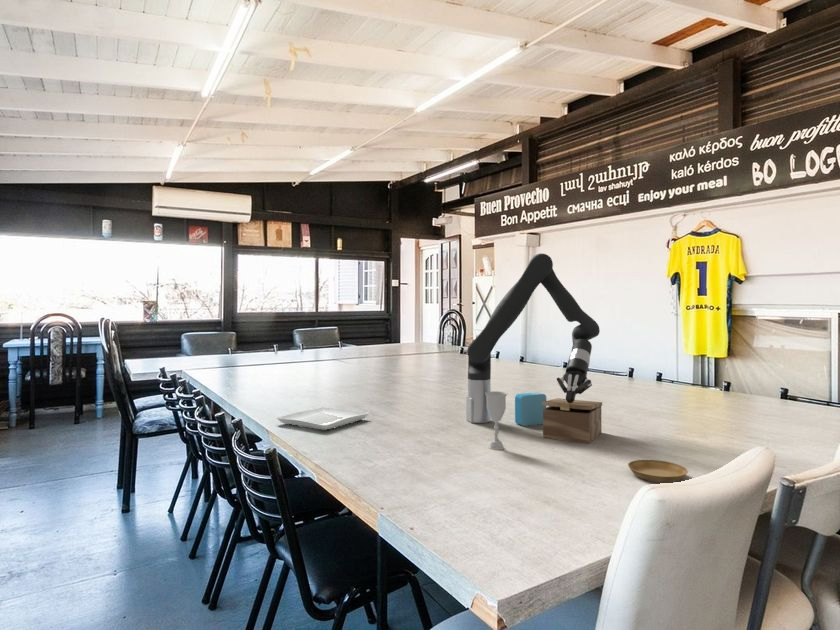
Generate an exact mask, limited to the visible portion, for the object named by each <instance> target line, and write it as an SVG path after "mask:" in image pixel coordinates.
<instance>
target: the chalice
mask: <svg viewBox="0 0 840 630" xmlns="http://www.w3.org/2000/svg"><path fill="white" fill-rule="evenodd" d="M485 394H486V396H487V410H488V413H489V415H490V417H491V421H493V422H494V426H493V428H494V431H493V434H494V438H493V439H492V440H491V441H490V443H489V446H488V449H490V450H494V451H495V450H497V451H498V450H499V451H500V450H503V449H505V446H504V444H503V442H502V440H500V439H499V430H498V429H499V428H500V427H499V422H500V421H501V420H502V418H503V416H504V414H505V412H506V399H507V398H506V397H507V395H508V393H507V392H505V391H491V392H485Z"/></svg>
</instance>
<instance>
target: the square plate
mask: <svg viewBox="0 0 840 630" xmlns="http://www.w3.org/2000/svg"><path fill="white" fill-rule="evenodd" d="M320 413H325V414H329V415H334V416H337V417H343V418H342V419H337V420H335V421H333V422H328V423H323V424H316V423H311V422H306V421H301V420H300V419H304V418H308V417H311V416H314V415H317V414H320ZM370 414H371V413H370V412H367V411H361V410H355V409H347V408H340V407H339V408H338V407H327V406H325V407H324V406H321V407H317V408H312V409H311V408H310V409H306V410H301V411H296V412H292V413H289V414H284V415H281V416H277V417H276V418H275V419H276V420H278V421H279V422H280V423H283V424H284V423H285V424H284V425H289V424H292V425H291V426H293V425H298V426H297V427H299V426H304V427H303V428H305V427H310V428H309V429H311V428H315V429H314V430H317V429H322V430H321V431H326V430H327V429H329V430H332V429H331V428H334V427H337V428H339V427H338V426H340V427H342V426H341V425H344V426H346V425H345V424H347V425H349V424H348V423H351V424H353V423H352V422H354V423H356V422H358V421H361V420H363V419H366V418H367V417H368V416H369V415H370ZM355 421H356V422H355ZM334 429H335V428H334ZM327 431H328V430H327Z"/></svg>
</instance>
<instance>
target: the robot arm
mask: <svg viewBox="0 0 840 630" xmlns="http://www.w3.org/2000/svg"><path fill="white" fill-rule="evenodd" d="M553 267H554V263H553V260H552V257H550V256H549V255H548V254H546V253H537V254H534V255H533V256H532V257H531V258H530V259H529V262H528V264H527V266H526V268H525V270H524V271H523V273H522V275H521V276H520V278H519V279H518V280H517V282H516V283H514V285H513V286H512V287H511V288H510V289H509V290H508V291H507V292H506V293H505V295H504V296H503V298H502V299H501V300H500V301H499V303H498V304H497V306H496V307H495V308H494V311H493V312H492V314H491V315H490V318H489V319H488V320H487V323H486V325H485V326H484V328H483V329H482V331H480V333H479V334H478V335H477V336H476V338H475V339H473V341H471V342H470V343H469V345H468V346H467V349H466V350H467V351H466V353H467V358H468V360H467V361H468V362H467V363H468V365H467V396H466V399H465V401H466V403H465V404H466V410H465V411H466V413H465V414H466V421H468V422H469V423H471V424H473V423H475V424H484V423H485V424H486V423H489V422H491V421H492V419H491V417H490V415H489V413H488V410H487V396H486V394H485V392H492V389H491V388H492V387H491V385H492V384H491V382H492V381H491V380H492V379H491V377H492V376H491V372H492V363H491V362H492V361H491V360H492V358H491V357H492V356H491V354H492V352H493V349H495V346H497V345H496V344H497V343H498V341H499V340H500V338H501V337H502V336H504V334H505V333H506V331H508V329H509V328H510V327H511V326H512V325H513V324H514V323H515V322H516V320H517V319H518V317H519V316H520V314H521V313H522V312H523V310H524V309H525V307H526V305H528V303H529V300H530V299H531V297H532V295H533V294H534V291H535V290H536V288H537V287H538V286H539V285H540V284H541V285H542V287H544V289H545V290H546V291H547V293H548V294H549V295H550V297H551V298H552V300H553V301H554V302H555V305H556V306H557V308H558V309H559V310H560V313H562V315H563V317H564V318H565V319H566V321H567V322H569V323H572V322H577V323H579V324H578V325H576V326H575V327H574V328H573V329H572V333H571V339H572V341H571V342H572V347H571V351H570V354H569V357H568V360H567V363H566V364H567V365H566V368H565V373H564V374H563V376H562V377H557V378H556V381H557V384H558V385H559V387H560V389H561V390H562V392H563V393H564V394H565V399H566V401H567V402H568V403H572V402H574V400H576V399H575V398H576V395H577V394H578V395H582V394H583V393H584V392H586V391H587V390H588V389H589V388H590V387H592V386H593V384H592V383H593V382H592V380H591V379H588V378H587V375H588V370H589V367H590V360H591V354H592V349H593V345H592V343H591V341H590V340H592V339H595V338H596V337H597V336H599V335H600V332H601V331H600V326H599V324H598V323H597V321H595V319H594V318H592V317H591V316H590V315H588V314H587V312H585V311H584V310H583V309H582V308H581V306H580V304H579V303H578V302H577V301H576V299H575V298H574V296H573V295H572V294H571V293H570V292H569V291H568V289H567V288H566V287H565V286H564V285H563V284H562V282H561V281H560V280H559V278H558V277H557V274H556V272H555V271H554V268H553ZM565 383H566V385H567V386H566V385H565Z"/></svg>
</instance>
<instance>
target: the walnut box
mask: <svg viewBox="0 0 840 630" xmlns="http://www.w3.org/2000/svg"><path fill="white" fill-rule="evenodd" d="M542 427H543V428H542V432H543V433H542V434H543V435H542V437H543V438H544V437H546V438H545V439H551V438H553V439H554V440H559V439H561V441H566V440H567V441H568V442H574V441H575V442H576V443H581V442H583V443H584V444H589V443H590V442H591V441H592V440H593V441H594V440H596V439H597V437H598V436H599V435H601V433H602V406H599V407H597V408H594V409H591V410H585V409H574V408H570V410H569V411H568V410H560V407H554V406H546V408H545V409H543V424H542ZM553 439H552V440H553ZM593 441H592V442H593ZM592 442H591V443H592ZM591 443H590V444H591Z"/></svg>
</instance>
